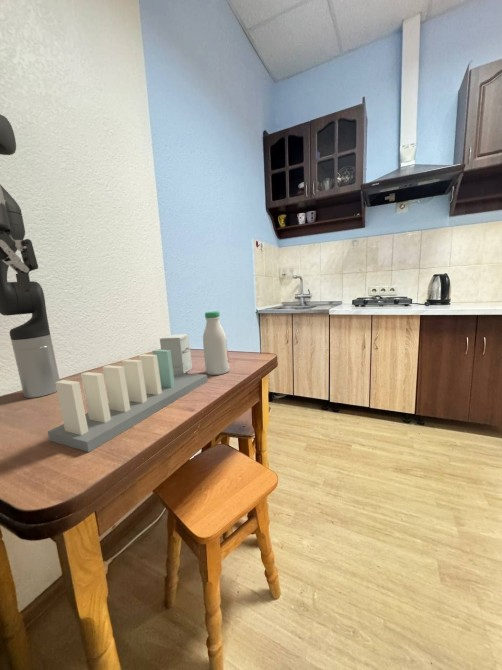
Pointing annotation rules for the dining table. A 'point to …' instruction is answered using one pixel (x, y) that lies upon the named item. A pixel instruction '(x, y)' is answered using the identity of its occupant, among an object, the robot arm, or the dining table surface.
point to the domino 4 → (135, 380)
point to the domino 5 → (151, 373)
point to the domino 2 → (96, 396)
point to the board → (126, 415)
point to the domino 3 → (116, 388)
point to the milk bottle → (215, 345)
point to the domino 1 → (72, 406)
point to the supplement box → (178, 351)
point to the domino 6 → (165, 368)
